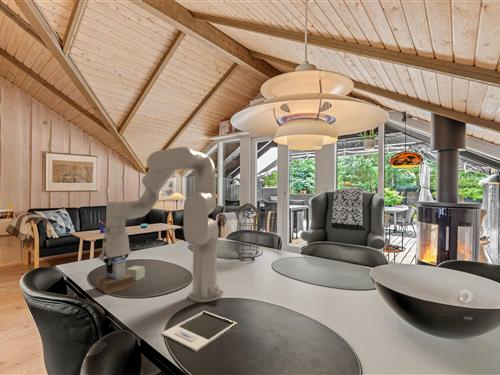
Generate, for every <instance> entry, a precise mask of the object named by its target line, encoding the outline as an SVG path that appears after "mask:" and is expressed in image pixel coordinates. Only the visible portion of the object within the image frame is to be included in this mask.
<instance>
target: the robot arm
mask: <svg viewBox="0 0 500 375" xmlns="http://www.w3.org/2000/svg"><path fill="white" fill-rule="evenodd" d="M146 166H147V168H148V169H149V170H148V171H147V172H146V174H145V175H144V176H143V178H142V180H141V184H142V185H143V187H145V190H144V193H143V194H142V196H141V197H140V198H139V199H138V200H133V201H121V200H120V201H116V200H115V201H109V202H107V203H106V207H105V208H106V216H105V219H106V222H105V223H106V224H105V225H106V226H105V228H103V232H104V237H103V240H102V252H100V255H99V256H98V260H100V261H102V263H104V264H105V272H106V271H107V273H109V274H112V264H111V262H112V258H113V257H118V256H120V257H124V258H125V262H127V261H126V260H127V258H129V255H130V254H131V253H132V250H131V249H130V239H129V235H128V232H127V231H126V220H133V219H137V218H143V217H145V216H146V215H148V213H149V212H151V210H152V209H153V208H154V206H155V205H156V203H157V201H158V198H159V197H160V196H159V195H160V191H161V190H162V188H163V187H164V186H165V185H166V183H167V182H168V180H169V179H170V178H172V175H174V173H175V172H176V171H179V170H185V171H187V170H188V171H192V172H194V173H195V177H194V190H193V192H191V193H190V194H188V195H187V196H186V198H185V199H184V203H183V236H184V239H185V241H186V242H187V244H189V245H190V246H192V247H193V249H192V250H193V253H192V290H191V291H190V292H189V293H188V299H189V300H191V301H192V302H196V303H209V302H213V301H216V300H218V299H221V298H222V296H223V294H224V290H222V289H219V286H220V285H218V284H217V278H218V276H217V269H218V268H217V267H218V266H217V265H218V264H217V263H218V262H217V261H218V259H217V258H218V242H219V234H220V233H219V225H218V223H217V222H216V221H215V220H214V219H213V218H210V217H209V215H210V214H212V213H213V212H214V211H215V210H216V207H217V199H216V198H217V192H216V190H217V188H216V166H215V163H214V161H213V160H212V158H211V157H210V156H209V155H207V154H206V153H204V152H201V151H199V150H197V149H193V148H191V147H186V146H179V147H174V148H167V149H162V150H156V151H154V152H152V153H150V154H149V156H148V157H147V159H146Z"/></svg>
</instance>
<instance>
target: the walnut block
mask: <svg viewBox="0 0 500 375" xmlns="http://www.w3.org/2000/svg"><path fill="white" fill-rule="evenodd" d="M132 287H133V288H134V280H133V276H131V275H129V274H126V272H125V277H123V278H120V279H117V280H116V279H112V278H109V277H106V274H105V275H101V276H97V277H96V289H97V288H98V290H99V291H100V290H101V291H100V292H102V293H103V292H104V294H105V295H106V294H107V295H110V293H111V294H114V293H113V292H115V293H118V292H117V291H119V292H122V291H125V289H126V290H128V289H129V288H130V289H133V288H132Z"/></svg>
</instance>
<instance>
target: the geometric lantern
mask: <svg viewBox="0 0 500 375" xmlns="http://www.w3.org/2000/svg"><path fill="white" fill-rule="evenodd" d="M246 210H247V211H246ZM233 213H234V214H235V217H236V219H237V220H236V221H237V225H236V235H235V244H234V245H235V246H234V252H236V254H237V255H238V259H239V260H240V261H242V262H247V261H249V259H245V258H251V261H255V257H256V256H257V255H258V254H259V253H260V252H259V243H260V242H258V237H259V224H258V222H259V221H258V220H259V218H260V217H261V216H262V215H263V214H264V212H263V211H261V209H259V208H257V207H256V206H255V205H253V204H252V203H249V202H246V203H245V204H243V205H242V206H240V207H238V208H236V209H235V210H233ZM240 215H241V216H242V217H241V219H240V218H239V217H240ZM250 216H251V217H250ZM243 217H246V219H245V221H244V222H242V220H243ZM255 218H256V219H255ZM251 219H252V220H253V222H252V220H251ZM247 220H249V222H246V221H247ZM244 226H246V227H249V226H250V229H251V230H250V239H252V238H253V237H252V235H253V227H254V229H256V233H255V239H253V248H252V240H250V245H249V248H244V229H242V227H244ZM241 234H242V236H241ZM241 237H242V238H241ZM241 240H242V241H241ZM241 242H242V243H241ZM240 244H241V249H240ZM248 250H249V252H244V251H248ZM240 251H241V252H240ZM244 255H245V256H244ZM246 255H247V256H246Z"/></svg>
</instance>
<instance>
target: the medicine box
mask: <svg viewBox="0 0 500 375" xmlns="http://www.w3.org/2000/svg"><path fill="white" fill-rule="evenodd" d="M111 264H112V274H109V273H107V271H106V270H105V275H106V277H109V278H112V279H116V280H117V279H120V278H123V277H125V273H126V261H125V258H124V257H120V256H118V257H113V258H112V262H111Z"/></svg>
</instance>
